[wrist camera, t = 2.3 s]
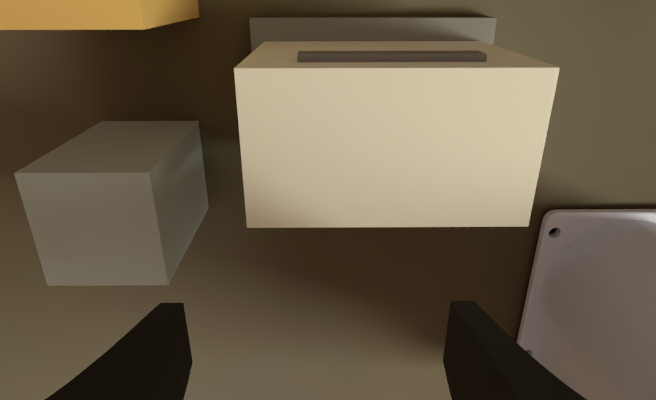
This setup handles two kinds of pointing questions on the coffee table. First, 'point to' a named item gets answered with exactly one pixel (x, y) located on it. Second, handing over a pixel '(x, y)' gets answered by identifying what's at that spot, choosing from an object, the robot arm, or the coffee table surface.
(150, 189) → the slate block
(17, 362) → the coffee table surface
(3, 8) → the ochre block
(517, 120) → the cream unit
